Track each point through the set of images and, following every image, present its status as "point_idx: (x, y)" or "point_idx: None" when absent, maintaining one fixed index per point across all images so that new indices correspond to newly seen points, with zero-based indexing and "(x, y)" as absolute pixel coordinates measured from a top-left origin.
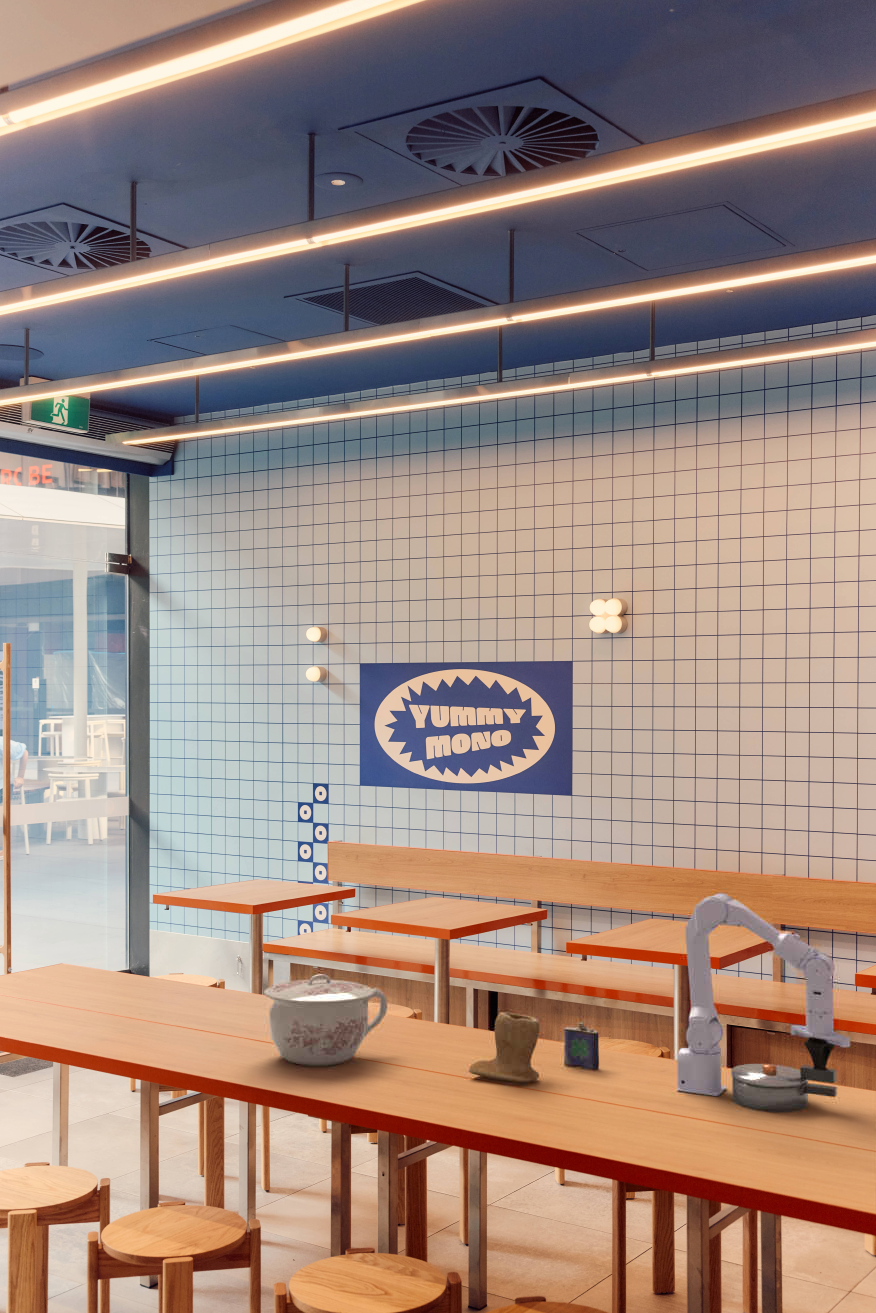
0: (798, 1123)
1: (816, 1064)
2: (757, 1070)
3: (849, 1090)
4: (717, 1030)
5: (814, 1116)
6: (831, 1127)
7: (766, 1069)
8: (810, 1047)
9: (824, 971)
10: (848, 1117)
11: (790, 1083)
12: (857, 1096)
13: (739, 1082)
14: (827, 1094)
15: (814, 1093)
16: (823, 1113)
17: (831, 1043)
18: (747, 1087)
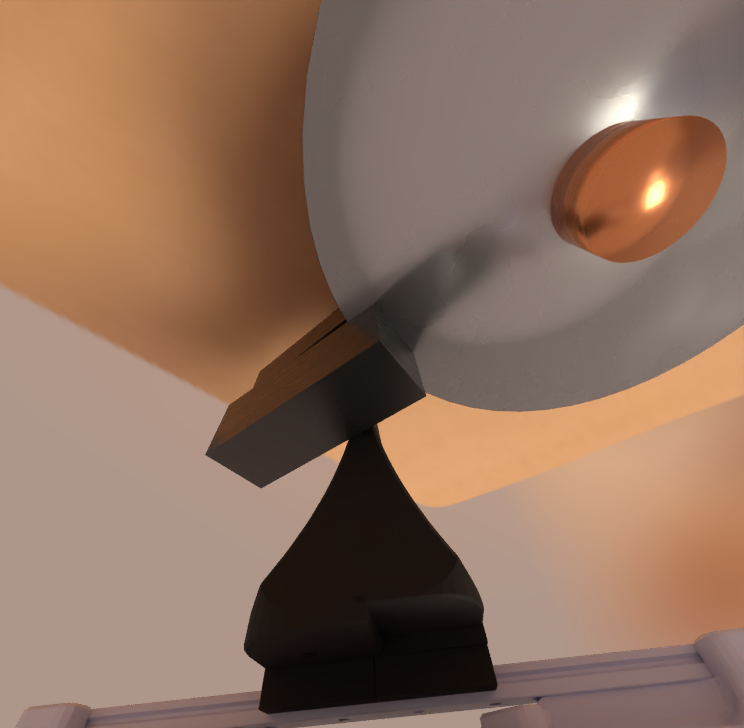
0: (98, 4)
1: (354, 451)
2: (729, 138)
3: (459, 492)
4: None
5: (235, 221)
6: (34, 167)
7: (635, 124)
8: (385, 555)
9: None
10: (206, 342)
11: (304, 145)
12: (407, 481)
13: None
14: (280, 358)
15: (323, 321)
16: (273, 291)
17: (217, 697)
18: None
